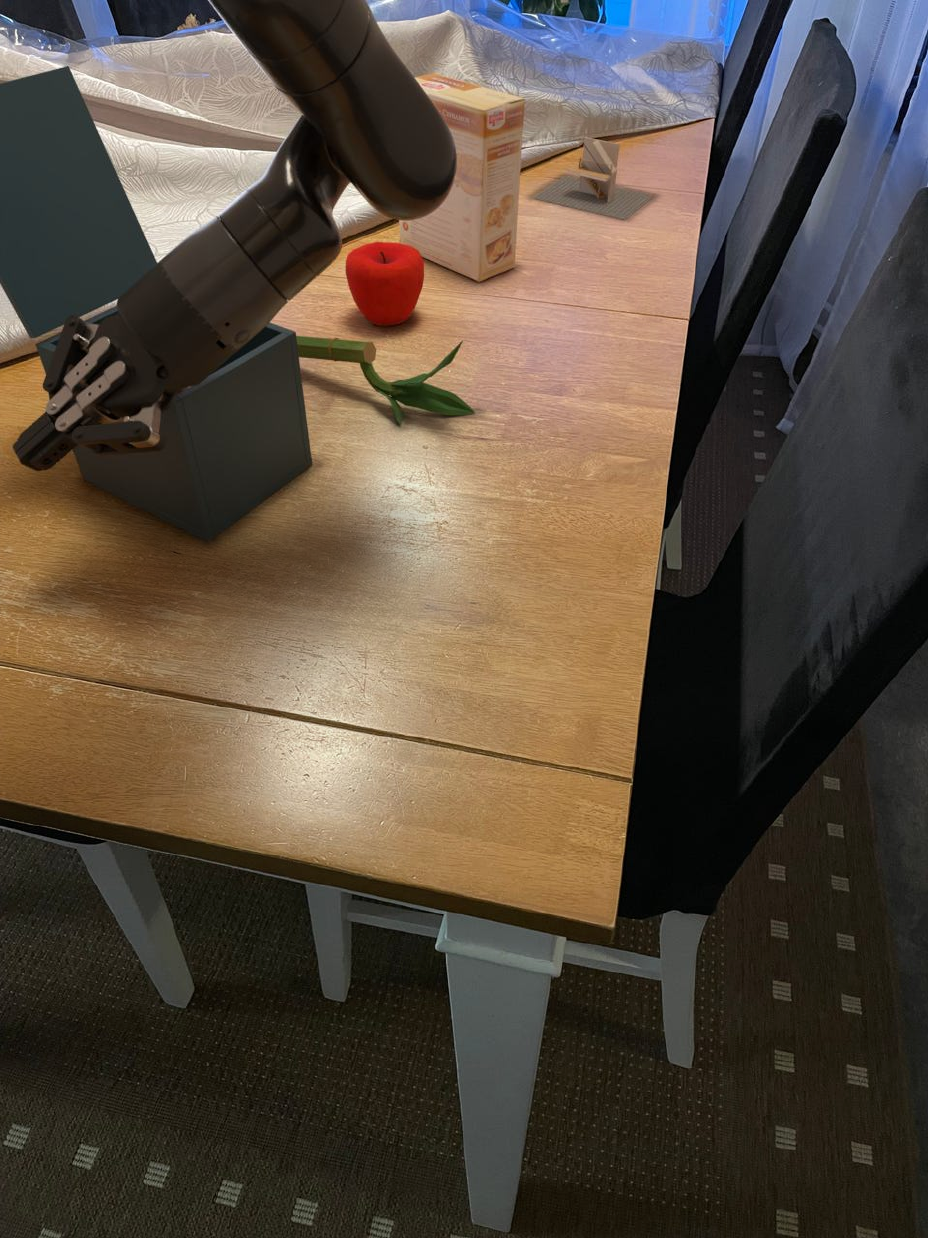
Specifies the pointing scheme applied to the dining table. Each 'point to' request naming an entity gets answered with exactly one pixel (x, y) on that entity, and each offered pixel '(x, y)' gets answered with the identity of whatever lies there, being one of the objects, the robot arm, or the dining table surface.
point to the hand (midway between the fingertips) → (25, 460)
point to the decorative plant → (402, 390)
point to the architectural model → (595, 184)
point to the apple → (385, 281)
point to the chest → (214, 439)
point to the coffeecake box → (474, 181)
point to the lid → (61, 207)
